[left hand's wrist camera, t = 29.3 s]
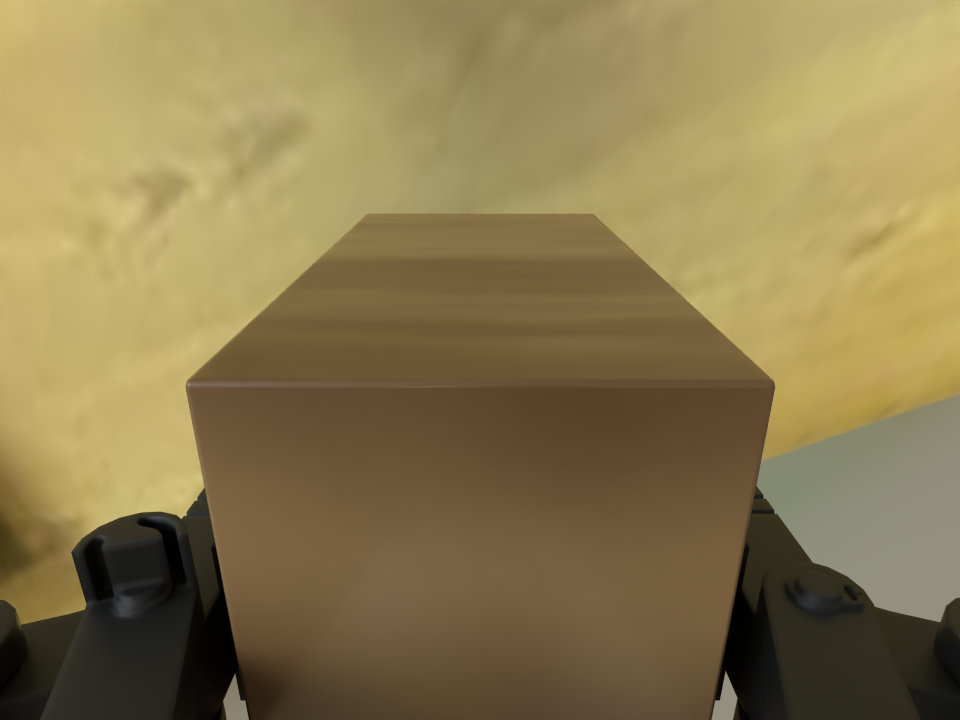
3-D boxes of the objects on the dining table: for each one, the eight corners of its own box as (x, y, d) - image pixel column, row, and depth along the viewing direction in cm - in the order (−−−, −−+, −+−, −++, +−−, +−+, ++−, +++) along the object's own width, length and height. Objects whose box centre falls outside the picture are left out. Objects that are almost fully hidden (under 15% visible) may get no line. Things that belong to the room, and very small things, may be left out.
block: (366, 213, 15) (180, 380, 6) (594, 213, 15) (779, 382, 6) (386, 524, 18) (290, 949, 9) (573, 524, 18) (670, 950, 9)
